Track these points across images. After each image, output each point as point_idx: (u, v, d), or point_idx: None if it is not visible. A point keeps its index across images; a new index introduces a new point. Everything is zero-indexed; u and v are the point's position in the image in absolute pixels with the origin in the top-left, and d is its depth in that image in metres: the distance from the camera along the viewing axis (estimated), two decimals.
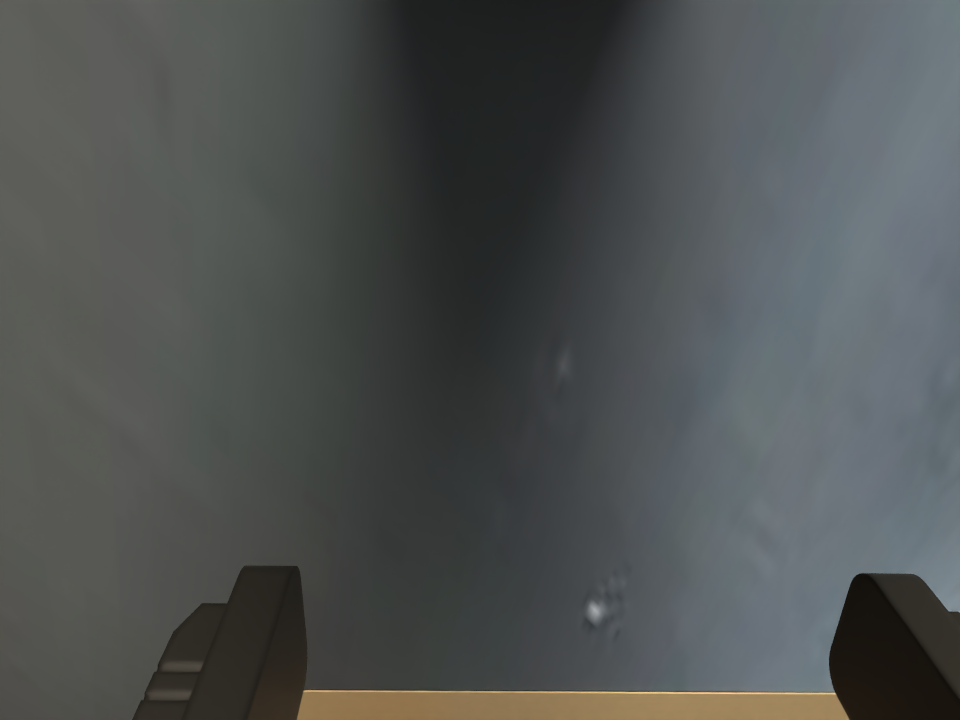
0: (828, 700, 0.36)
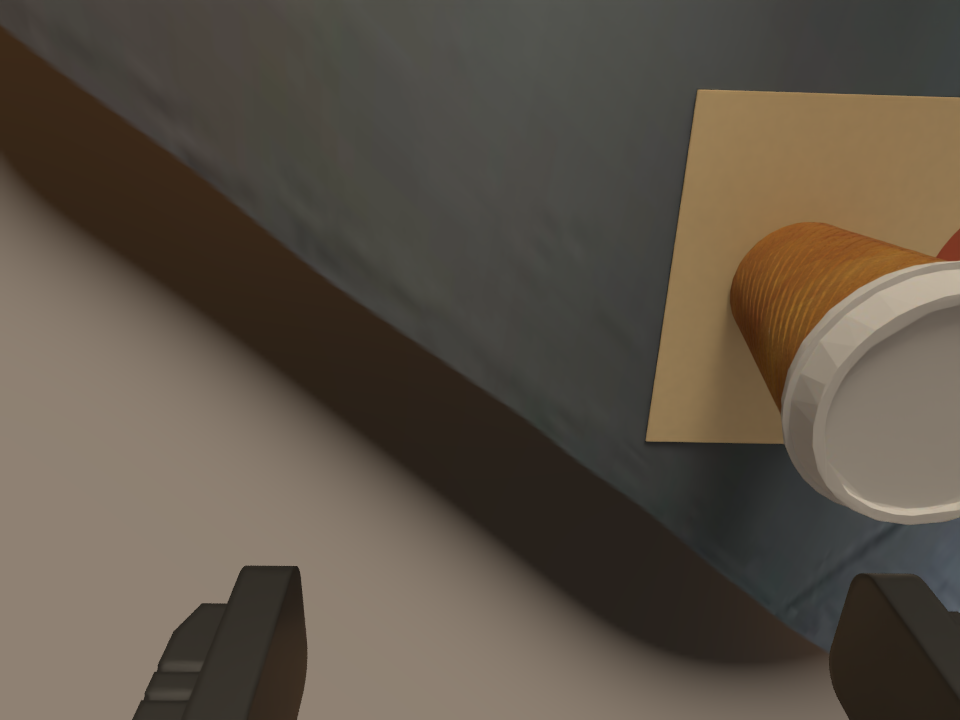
0: None
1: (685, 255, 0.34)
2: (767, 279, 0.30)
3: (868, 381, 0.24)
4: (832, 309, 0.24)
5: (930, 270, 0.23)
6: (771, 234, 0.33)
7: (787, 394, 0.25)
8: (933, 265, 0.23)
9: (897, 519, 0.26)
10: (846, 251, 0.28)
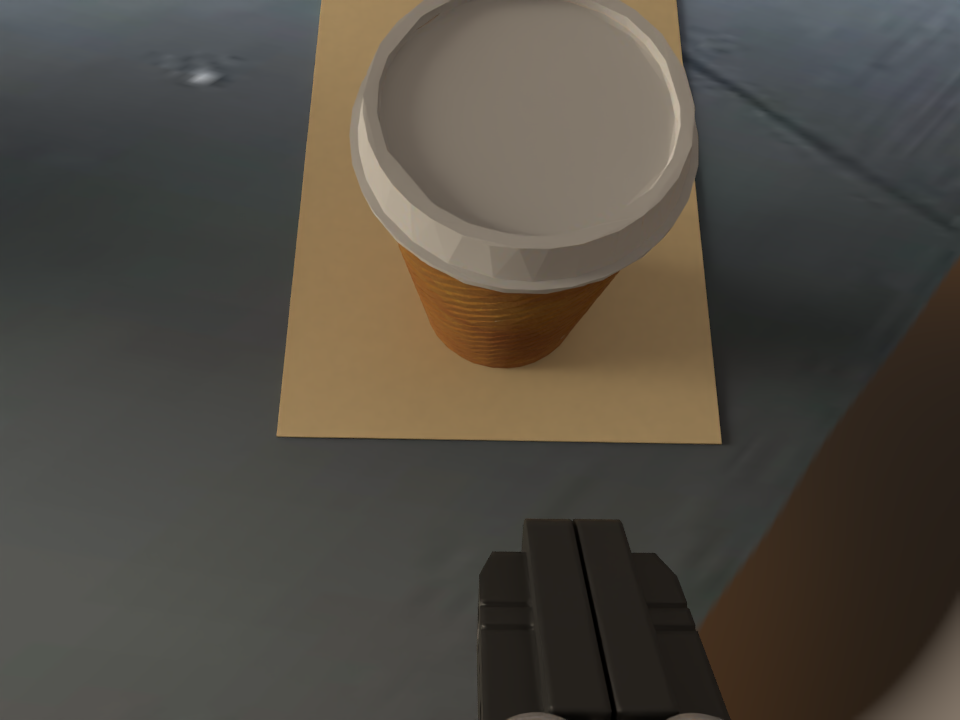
0: None
1: (464, 425, 0.29)
2: (459, 332, 0.26)
3: (488, 197, 0.19)
4: None
5: (358, 163, 0.20)
6: (438, 334, 0.30)
7: (526, 288, 0.19)
8: (352, 161, 0.20)
9: (688, 121, 0.19)
10: None
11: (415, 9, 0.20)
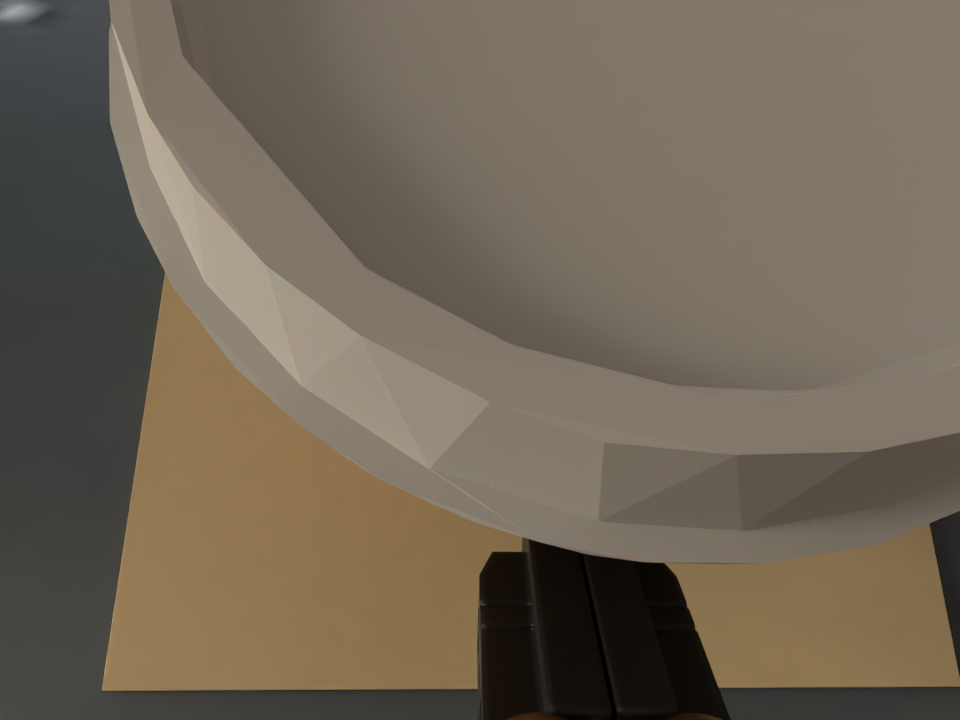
0: None
1: (469, 659, 0.15)
2: None
3: (577, 228, 0.05)
4: None
5: (130, 120, 0.06)
6: None
7: (720, 555, 0.05)
8: (110, 115, 0.06)
9: None
10: None
11: None
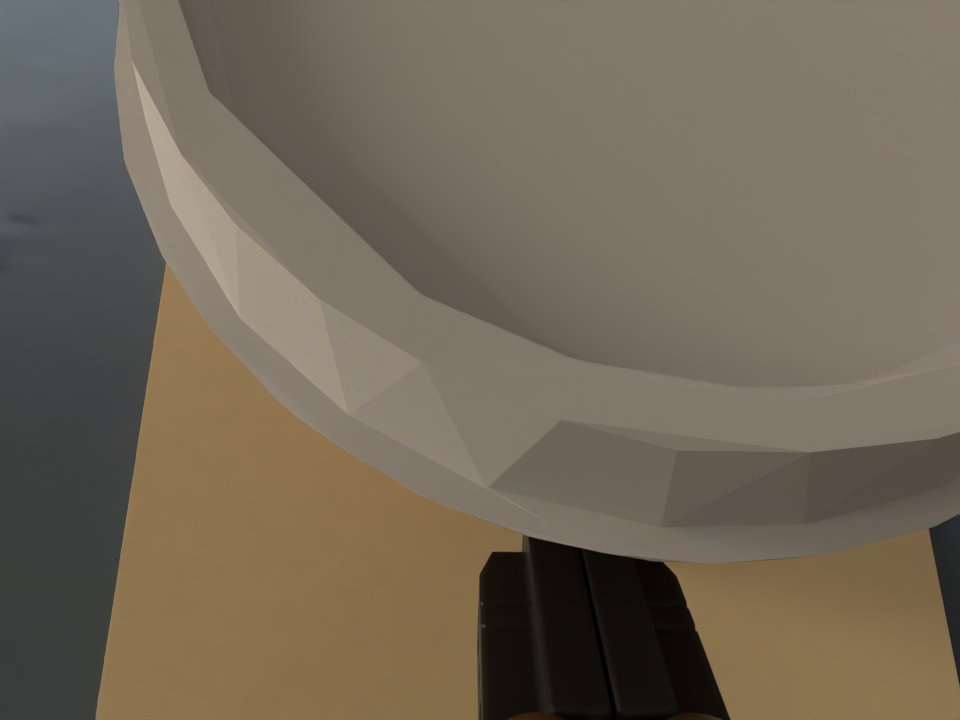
0: None
1: None
2: None
3: (621, 237, 0.05)
4: None
5: (145, 158, 0.06)
6: None
7: (784, 550, 0.05)
8: (125, 154, 0.06)
9: None
10: None
11: None
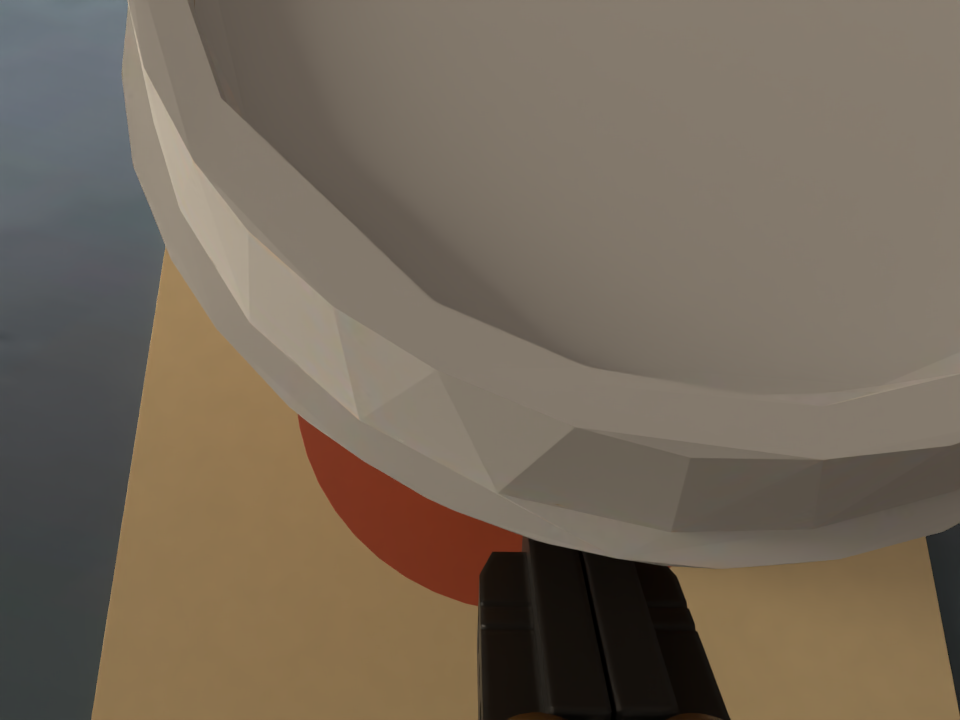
0: None
1: None
2: None
3: (633, 241, 0.05)
4: None
5: (153, 162, 0.06)
6: None
7: (794, 555, 0.05)
8: (133, 158, 0.06)
9: None
10: None
11: None
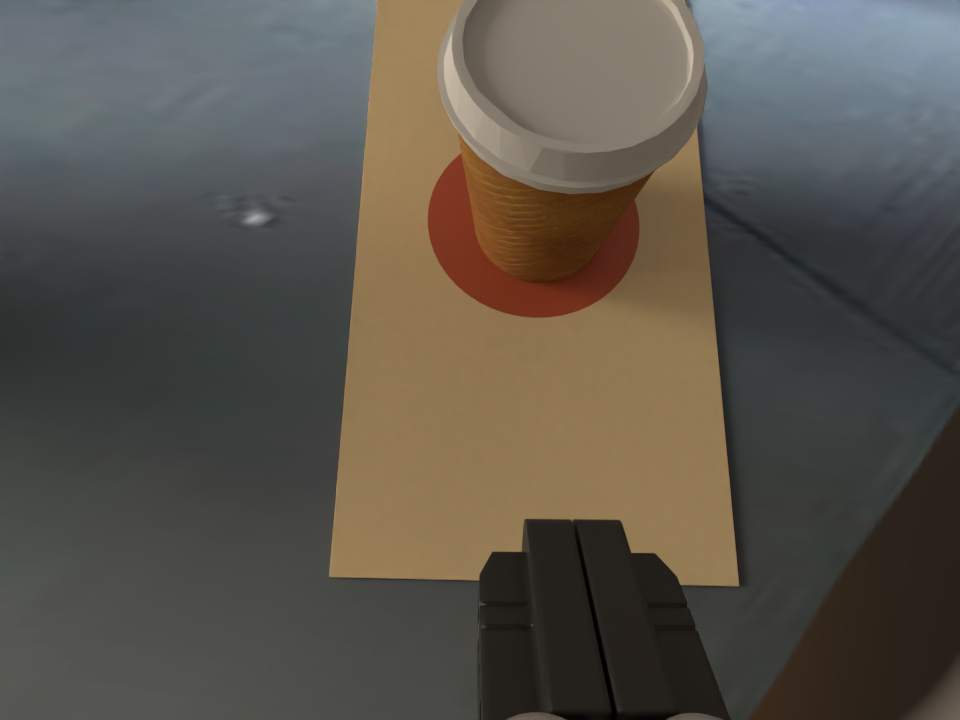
0: (383, 26, 0.40)
1: None
2: (518, 246, 0.32)
3: (556, 119, 0.24)
4: (501, 172, 0.26)
5: (448, 104, 0.26)
6: (491, 259, 0.36)
7: (589, 186, 0.25)
8: (444, 103, 0.26)
9: (699, 51, 0.25)
10: (471, 184, 0.30)
11: None
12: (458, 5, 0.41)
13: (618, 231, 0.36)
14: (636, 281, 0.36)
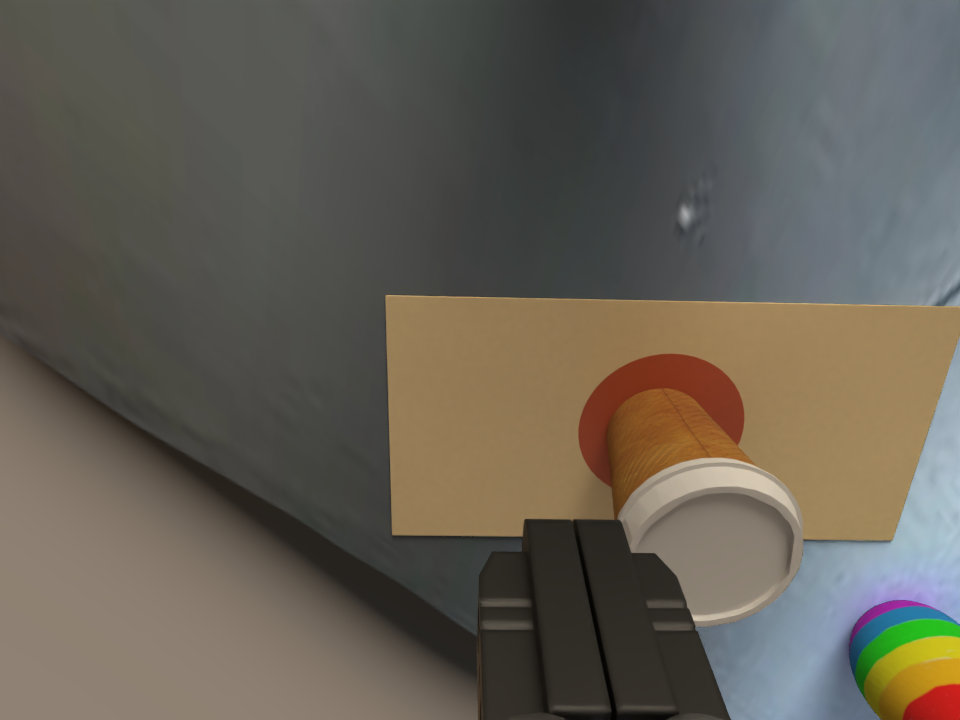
0: (874, 312, 0.44)
1: (397, 405, 0.46)
2: (617, 445, 0.43)
3: (657, 542, 0.36)
4: (633, 493, 0.37)
5: (686, 470, 0.35)
6: (629, 400, 0.46)
7: None
8: (687, 467, 0.35)
9: (699, 624, 0.38)
10: (658, 434, 0.40)
11: (779, 503, 0.35)
12: (885, 373, 0.45)
13: None
14: (603, 492, 0.49)
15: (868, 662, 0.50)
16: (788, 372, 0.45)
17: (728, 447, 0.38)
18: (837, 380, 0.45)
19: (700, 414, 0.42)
